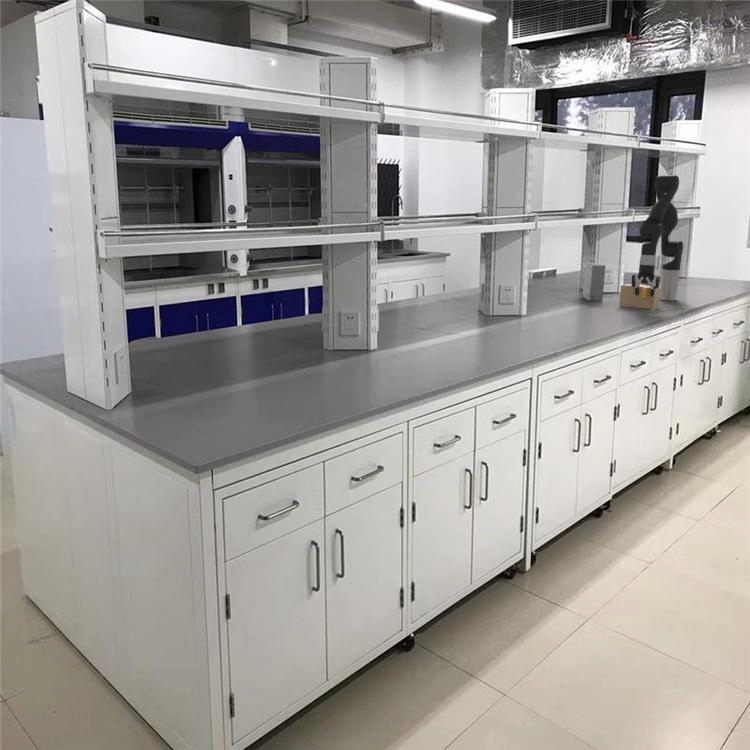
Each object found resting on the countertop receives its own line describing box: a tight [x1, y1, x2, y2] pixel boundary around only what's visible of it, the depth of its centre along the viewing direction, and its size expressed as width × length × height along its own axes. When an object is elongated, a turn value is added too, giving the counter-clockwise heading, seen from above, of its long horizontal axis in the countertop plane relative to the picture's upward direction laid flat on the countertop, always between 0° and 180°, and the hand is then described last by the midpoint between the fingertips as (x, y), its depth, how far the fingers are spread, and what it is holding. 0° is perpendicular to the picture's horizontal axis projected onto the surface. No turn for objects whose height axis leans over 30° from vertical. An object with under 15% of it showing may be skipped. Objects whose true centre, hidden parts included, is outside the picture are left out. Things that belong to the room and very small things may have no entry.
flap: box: [619, 284, 652, 310], centre depth 375 cm, size 5×16×11 cm, turn 52°
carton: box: [618, 283, 661, 311], centre depth 380 cm, size 9×18×11 cm, turn 52°
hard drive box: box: [582, 262, 607, 302], centre depth 405 cm, size 16×8×20 cm, turn 179°
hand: (644, 295), depth 371 cm, fingers open, 7 cm apart
